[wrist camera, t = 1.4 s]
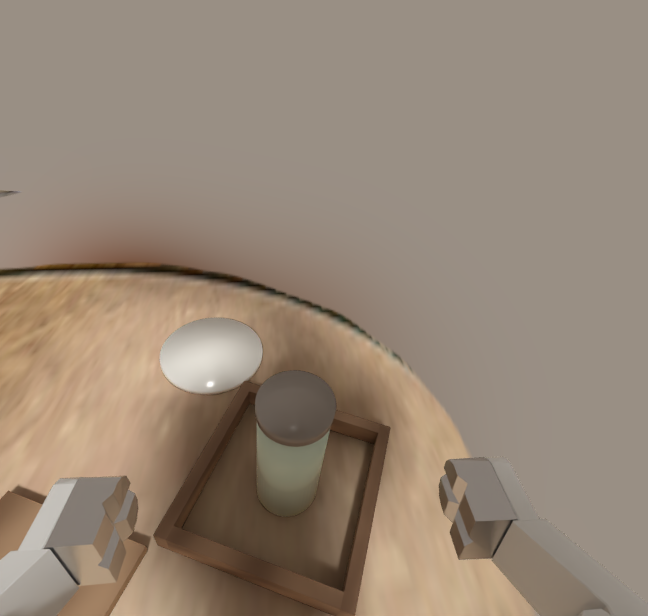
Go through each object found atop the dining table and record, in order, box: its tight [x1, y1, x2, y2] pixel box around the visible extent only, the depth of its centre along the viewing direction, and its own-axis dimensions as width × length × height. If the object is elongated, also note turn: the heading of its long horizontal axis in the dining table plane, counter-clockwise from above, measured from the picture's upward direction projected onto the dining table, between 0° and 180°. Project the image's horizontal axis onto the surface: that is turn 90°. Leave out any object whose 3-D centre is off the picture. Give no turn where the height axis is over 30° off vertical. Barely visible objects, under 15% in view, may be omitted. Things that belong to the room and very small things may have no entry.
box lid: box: [0, 491, 148, 616], centre depth 25 cm, size 12×12×2 cm
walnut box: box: [153, 381, 390, 616], centre depth 33 cm, size 15×15×2 cm
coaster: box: [160, 318, 263, 395], centre depth 44 cm, size 11×11×1 cm
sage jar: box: [255, 370, 336, 517], centre depth 30 cm, size 5×5×12 cm
